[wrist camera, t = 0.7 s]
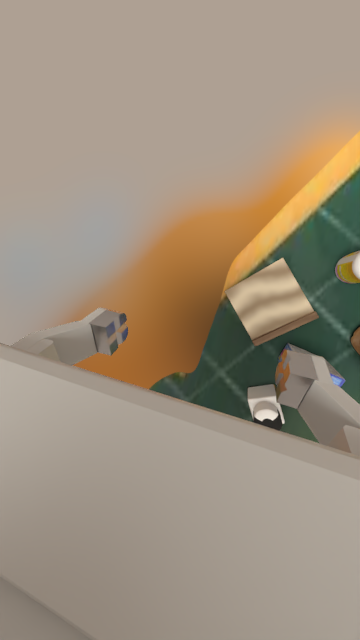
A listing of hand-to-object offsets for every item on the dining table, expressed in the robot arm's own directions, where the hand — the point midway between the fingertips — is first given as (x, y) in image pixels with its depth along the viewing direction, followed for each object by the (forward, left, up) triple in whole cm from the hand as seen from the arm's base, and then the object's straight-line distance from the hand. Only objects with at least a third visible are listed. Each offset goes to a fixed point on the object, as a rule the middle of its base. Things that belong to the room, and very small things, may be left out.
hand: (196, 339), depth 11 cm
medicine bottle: (-27, +7, -49) cm, 56 cm away
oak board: (-5, -6, -48) cm, 49 cm away
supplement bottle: (-6, -25, -49) cm, 55 cm away
